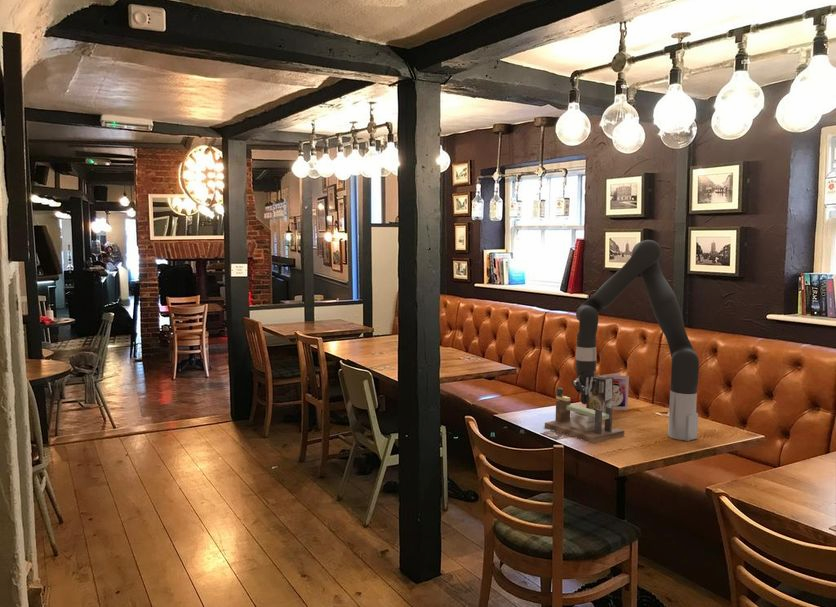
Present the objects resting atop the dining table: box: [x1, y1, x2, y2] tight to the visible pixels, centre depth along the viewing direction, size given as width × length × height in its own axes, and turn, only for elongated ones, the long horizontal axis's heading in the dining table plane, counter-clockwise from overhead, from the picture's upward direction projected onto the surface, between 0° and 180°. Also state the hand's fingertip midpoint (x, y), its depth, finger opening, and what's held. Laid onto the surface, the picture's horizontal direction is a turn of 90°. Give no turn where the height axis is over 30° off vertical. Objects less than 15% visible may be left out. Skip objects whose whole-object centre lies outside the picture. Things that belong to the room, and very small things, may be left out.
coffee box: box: [585, 374, 613, 413], centre depth 277 cm, size 9×6×16 cm
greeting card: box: [601, 372, 630, 411], centre depth 288 cm, size 11×7×15 cm, turn 86°
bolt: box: [555, 387, 571, 401], centre depth 260 cm, size 6×2×4 cm, turn 36°
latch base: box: [544, 399, 625, 444], centre depth 252 cm, size 24×17×11 cm
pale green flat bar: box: [567, 403, 609, 421], centre depth 250 cm, size 17×4×2 cm, turn 36°
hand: (584, 403), depth 251 cm, fingers closed
